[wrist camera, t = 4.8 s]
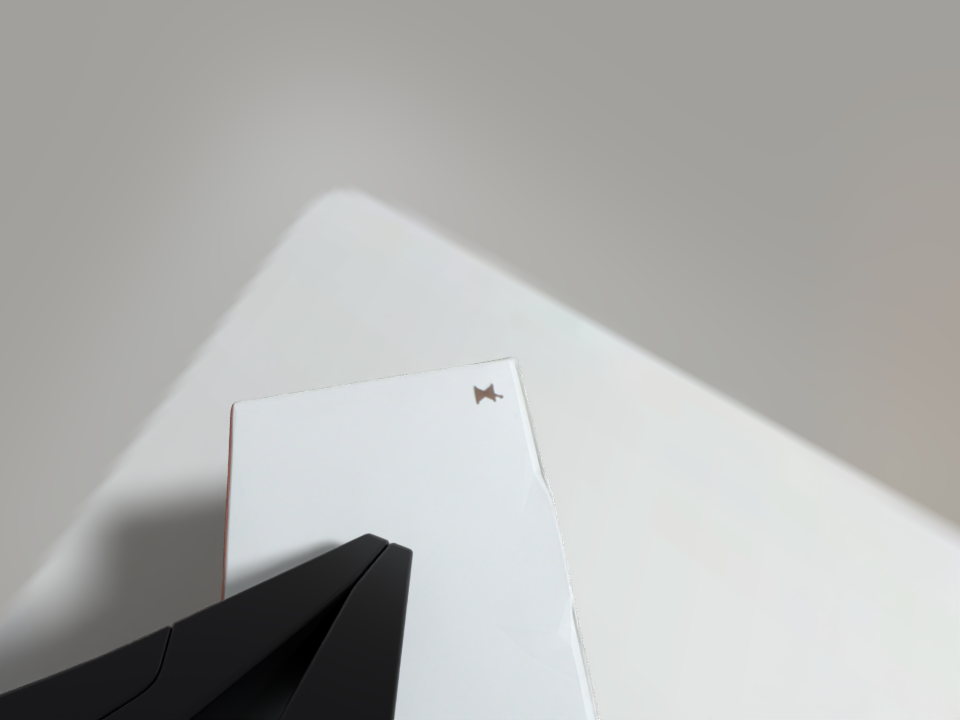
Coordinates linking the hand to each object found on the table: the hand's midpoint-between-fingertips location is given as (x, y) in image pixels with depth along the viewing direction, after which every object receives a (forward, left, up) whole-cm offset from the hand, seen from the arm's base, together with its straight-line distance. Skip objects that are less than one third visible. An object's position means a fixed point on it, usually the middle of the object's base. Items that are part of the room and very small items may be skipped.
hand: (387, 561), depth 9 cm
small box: (0, 0, -14) cm, 14 cm away
